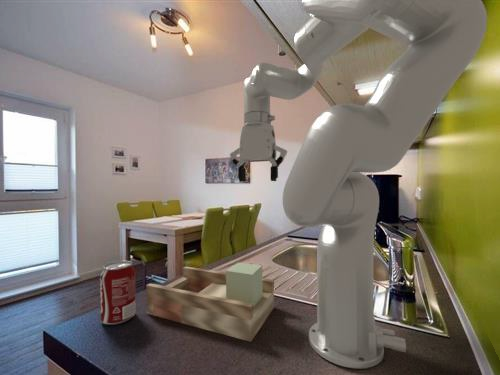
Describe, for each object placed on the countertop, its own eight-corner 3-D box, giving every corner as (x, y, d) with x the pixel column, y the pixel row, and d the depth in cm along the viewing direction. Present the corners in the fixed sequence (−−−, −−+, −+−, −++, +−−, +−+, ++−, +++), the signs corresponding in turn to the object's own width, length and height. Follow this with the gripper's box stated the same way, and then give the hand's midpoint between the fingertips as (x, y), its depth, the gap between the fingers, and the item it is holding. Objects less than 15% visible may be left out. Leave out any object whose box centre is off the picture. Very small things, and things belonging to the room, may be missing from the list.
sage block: (262, 296, 55) (262, 265, 55) (252, 308, 50) (252, 274, 50) (238, 292, 58) (238, 262, 58) (226, 303, 52) (226, 270, 52)
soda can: (142, 315, 55) (141, 262, 55) (112, 331, 49) (111, 271, 49) (124, 308, 58) (123, 258, 58) (94, 321, 53) (93, 266, 53)
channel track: (274, 307, 58) (274, 280, 58) (250, 341, 45) (250, 307, 45) (185, 289, 69) (185, 266, 69) (146, 313, 56) (146, 285, 56)
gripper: (289, 121, 70) (290, 181, 70) (236, 127, 77) (236, 181, 77) (282, 114, 63) (283, 180, 64) (224, 122, 70) (224, 181, 70)
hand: (257, 181), depth 70 cm, fingers open, 9 cm apart
